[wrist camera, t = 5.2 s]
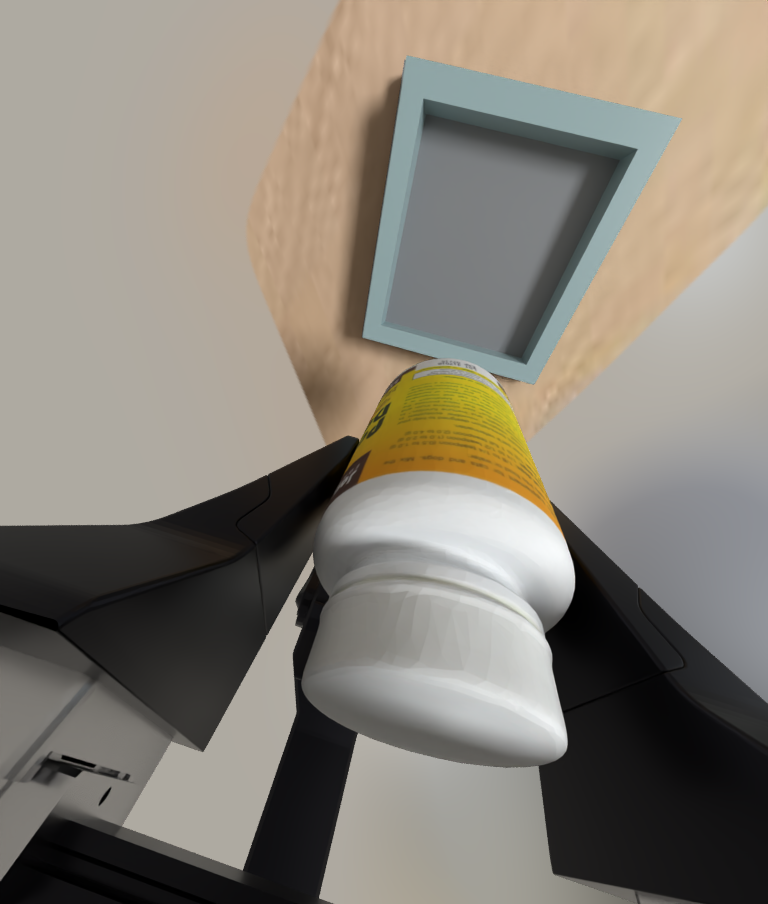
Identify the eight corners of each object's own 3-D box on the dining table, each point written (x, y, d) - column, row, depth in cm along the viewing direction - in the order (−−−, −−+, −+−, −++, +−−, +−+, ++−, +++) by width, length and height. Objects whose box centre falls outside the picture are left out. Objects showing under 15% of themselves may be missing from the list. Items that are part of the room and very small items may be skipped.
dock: (528, 379, 20) (537, 392, 18) (365, 334, 20) (355, 342, 18) (661, 131, 13) (701, 105, 11) (407, 72, 13) (399, 37, 11)
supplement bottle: (390, 340, 11) (211, 581, 3) (532, 370, 11) (820, 757, 2) (373, 452, 14) (267, 716, 6) (481, 478, 14) (525, 800, 6)
